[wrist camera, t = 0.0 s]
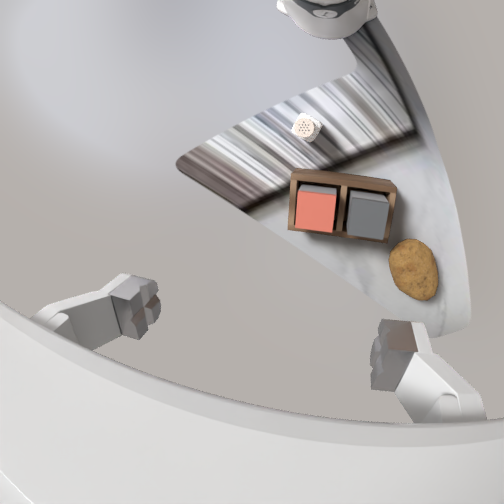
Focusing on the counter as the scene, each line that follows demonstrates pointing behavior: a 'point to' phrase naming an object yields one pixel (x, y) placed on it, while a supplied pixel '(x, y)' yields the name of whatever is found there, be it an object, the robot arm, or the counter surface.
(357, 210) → the grey cube
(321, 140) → the counter surface
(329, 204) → the red and grey cube
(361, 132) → the counter surface
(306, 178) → the wooden divided tray
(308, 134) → the pepper shaker
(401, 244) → the potato
